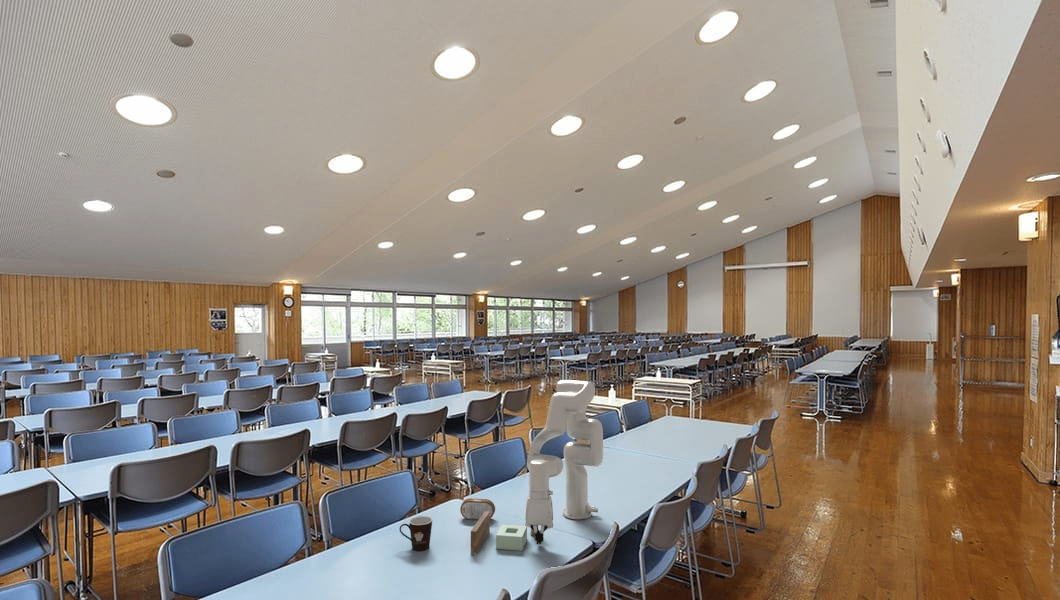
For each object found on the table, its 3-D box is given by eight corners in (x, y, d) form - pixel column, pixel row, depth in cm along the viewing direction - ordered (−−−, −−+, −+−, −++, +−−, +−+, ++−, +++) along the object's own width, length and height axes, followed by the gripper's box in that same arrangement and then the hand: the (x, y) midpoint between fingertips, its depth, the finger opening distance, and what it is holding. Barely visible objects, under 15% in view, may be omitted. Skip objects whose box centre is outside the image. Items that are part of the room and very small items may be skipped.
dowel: (538, 533, 204) (538, 508, 204) (537, 536, 201) (537, 510, 201) (531, 532, 204) (531, 507, 205) (530, 536, 201) (530, 510, 202)
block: (526, 539, 198) (526, 526, 198) (522, 550, 188) (522, 536, 188) (501, 537, 200) (501, 524, 200) (495, 548, 190) (495, 535, 190)
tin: (495, 518, 220) (495, 498, 220) (494, 521, 217) (494, 501, 217) (461, 517, 221) (461, 497, 222) (459, 519, 218) (459, 500, 219)
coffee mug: (436, 544, 194) (437, 518, 194) (423, 554, 186) (423, 526, 186) (412, 539, 198) (412, 513, 199) (397, 548, 191) (398, 521, 191)
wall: (489, 531, 206) (489, 511, 206) (475, 553, 186) (475, 531, 186) (484, 531, 206) (484, 511, 206) (470, 553, 186) (470, 531, 187)
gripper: (559, 491, 195) (560, 540, 195) (521, 489, 198) (521, 537, 197) (557, 498, 188) (557, 548, 187) (517, 495, 190) (518, 545, 190)
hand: (539, 542), depth 192 cm, fingers closed
